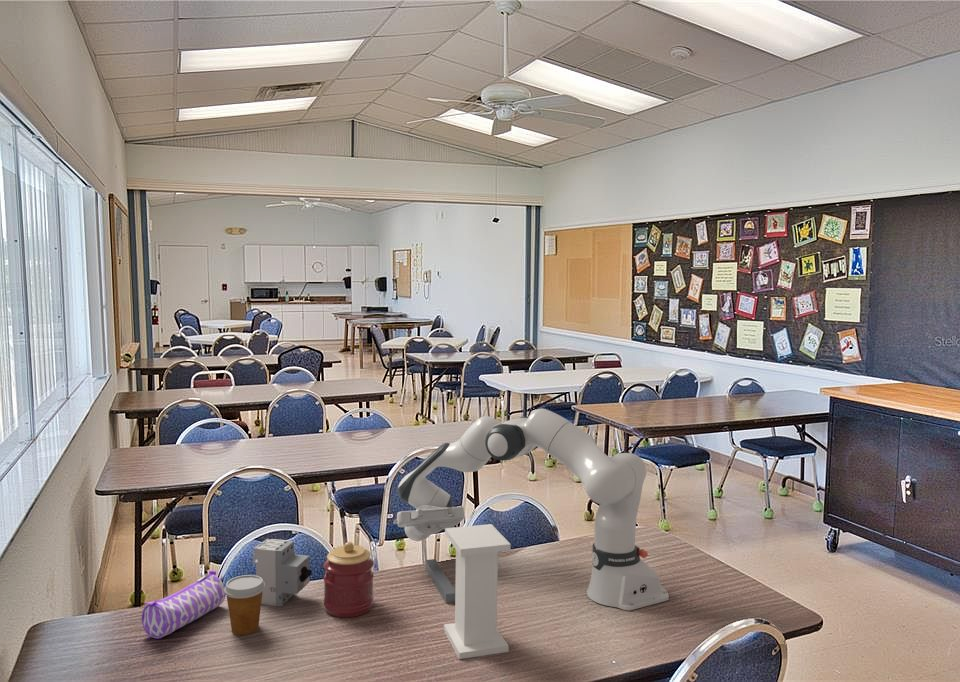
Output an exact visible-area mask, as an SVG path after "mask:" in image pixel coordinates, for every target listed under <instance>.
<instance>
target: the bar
mask: <svg viewBox="0 0 960 682" xmlns="http://www.w3.org/2000/svg"><path fill="white" fill-rule="evenodd" d="M425 570H426V572H427V574H428V576H429V578H431V581H432V582H433V584H434V586H435V588H436V590H437V591H438V592H439V594H440V596H441V598H442V600H443V601H444V603H445V604H446V603H447V604H453V603H455V588H454V586H453V585H452V583H451V581H450V580H449V578H448V577H447V575H446V573H445V572H444V570H443V569H442V567H441V566H440V564H439V562H438V561H437V559H436V558H433V559H431V558H430V559H425Z"/></svg>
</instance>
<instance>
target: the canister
mask: <svg viewBox="0 0 960 682" xmlns="http://www.w3.org/2000/svg"><path fill="white" fill-rule="evenodd" d="M326 559H327V560H326V561H325V562H324V564H323V569H324V570H325V573H324V576H323V581H324V582H323V583H324V585H323V589H324V591H323V593H324V594H323V595H324V596H323V597H324V598H323V606H324V610H325V612H326V613H327V614H328V615H331V616H333V617H337V618H353V617H358V616H361V615H364V614H366V613H367V612H369V611H370V610H371V609H372V607H373V603H374V576H375V575H374V572H373V571H372V570H373V569H372V568H373V567H374V564H375V563H374V560H373V559H372V557H371V552H370V551H369V550H368V549H366V548H365V547H363V546H360V545H355V544H354V543H353V542H351V541H347V542H345V544H343V545H341V546H337V547H335V548H334V549H332V550H331V551H330V552H328V553H327V555H326Z"/></svg>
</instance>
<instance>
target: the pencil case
mask: <svg viewBox="0 0 960 682" xmlns="http://www.w3.org/2000/svg"><path fill="white" fill-rule="evenodd" d="M216 575H217V571H216V570H209V571H208V573H205V574H204V575H203V576H202V577H200V578H198V579H197V580H196V581H195V582H192V583H191V584H189V585H187V586H185V587H183V588H182V589H180V590H179V591H176V592H175V593H172V594H170V595H168V596H166V597H164V598H161V599H155V600H152V601H146V602H144V604H145V606H144V608H143V609H142V613H141V626H142V628H143V630H144V632H145V633H146V635H147V636H148V637H151V638H154V639H156V640H160V639H162V638H164V637H165V636H168V635H170V634H172V633H173V632H175V631H177V630H179V629H180V628H183V627H185V626H186V625H188V624H190V623H192V622H194V621H195V620H198V619H199V618H201V617H202V616H204V615H206V614H208V613H210V612H211V611H214V610H215V609H216V608H218V607H220V606H221V605H222V604H224V601H225V599H226V597H227V596H226V594H225V592H224V588H225V587H226V586H225V585H224V583H223V582H222V580H221V579H220V578H219V577H218V576H216Z"/></svg>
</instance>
